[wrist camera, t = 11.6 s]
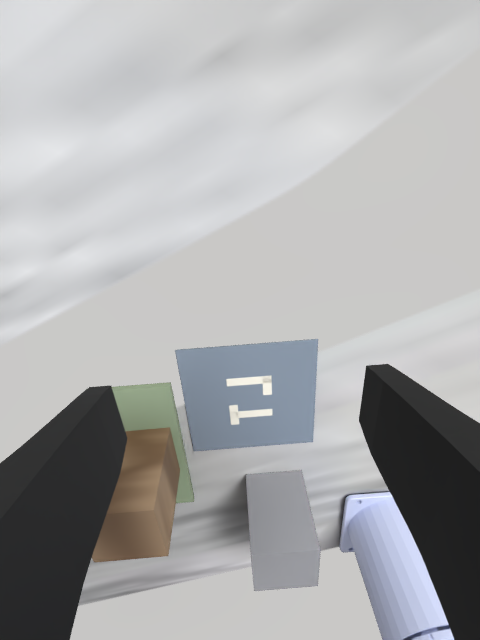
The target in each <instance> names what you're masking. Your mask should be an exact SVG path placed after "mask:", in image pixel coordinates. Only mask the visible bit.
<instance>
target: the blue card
mask: <svg viewBox="0 0 480 640" xmlns="http://www.w3.org/2000/svg"><path fill="white" fill-rule="evenodd" d="M175 352H176V358H177V363H178V369H179V374H180V379H181V385H182V389H183V396H184V401H185V406H186V412H187V417H188V423H189V428H190V433H191V439H192V444H193V449H194V451H204V450H217V449H229V448H242V447H255V446H268V445H280V444H293V443H306V442H313V430H314V410H315V391H316V371H317V352H318V339H311V340H299V341H285V342H272V343H260V344H247V345H233V346H220V347H207V348H194V349H181V350H176V351H175Z"/></svg>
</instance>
